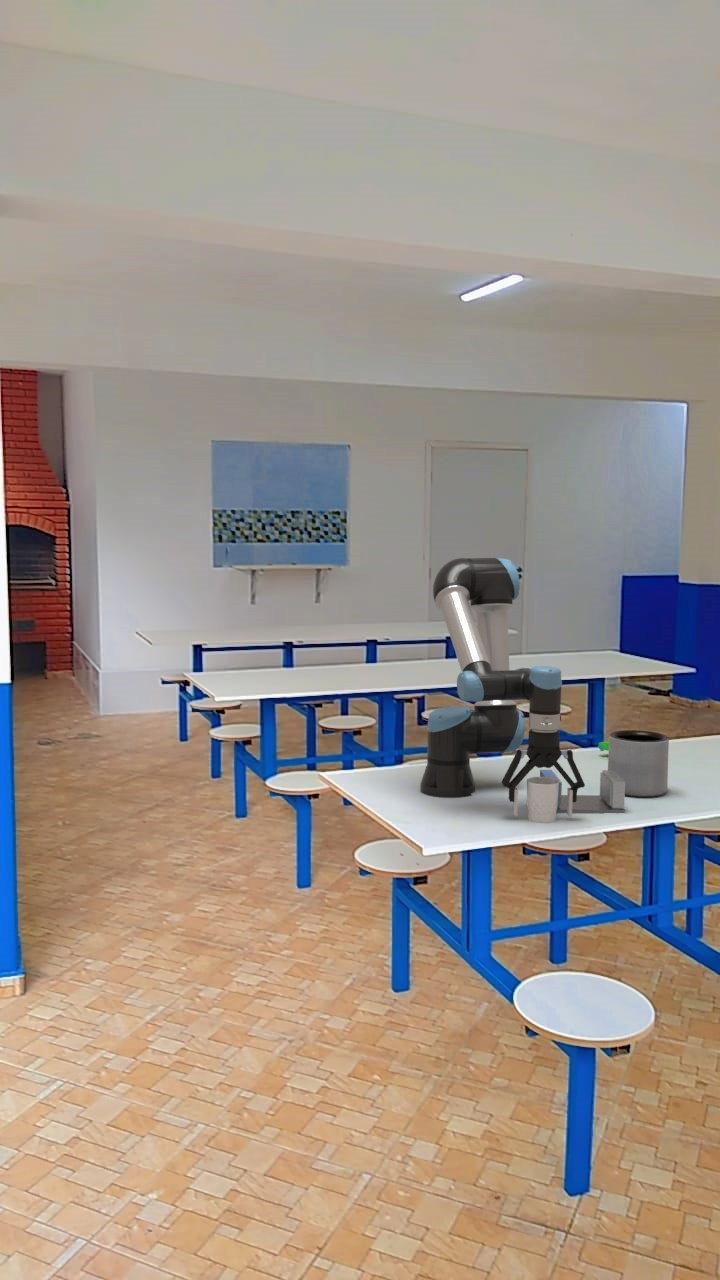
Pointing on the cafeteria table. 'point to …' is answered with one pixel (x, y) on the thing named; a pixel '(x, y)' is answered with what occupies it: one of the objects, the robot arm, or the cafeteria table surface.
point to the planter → (640, 761)
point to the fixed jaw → (612, 789)
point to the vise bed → (587, 805)
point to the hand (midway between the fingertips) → (542, 814)
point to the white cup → (542, 799)
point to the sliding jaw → (552, 775)
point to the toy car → (604, 746)
